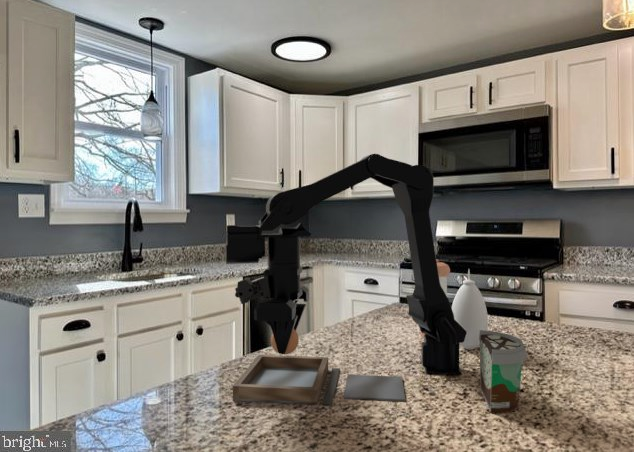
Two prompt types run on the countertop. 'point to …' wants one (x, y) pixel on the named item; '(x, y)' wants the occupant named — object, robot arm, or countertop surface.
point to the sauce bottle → (470, 312)
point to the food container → (500, 370)
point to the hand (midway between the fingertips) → (285, 348)
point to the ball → (291, 345)
